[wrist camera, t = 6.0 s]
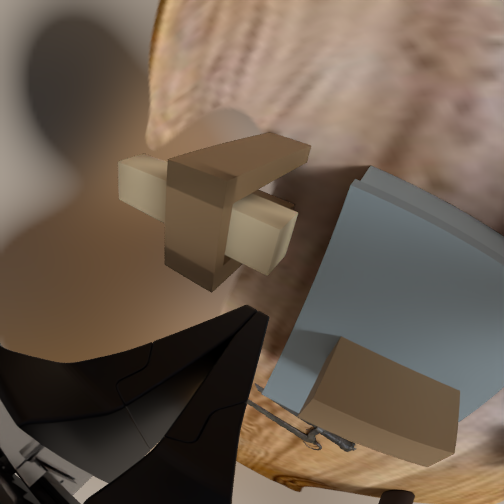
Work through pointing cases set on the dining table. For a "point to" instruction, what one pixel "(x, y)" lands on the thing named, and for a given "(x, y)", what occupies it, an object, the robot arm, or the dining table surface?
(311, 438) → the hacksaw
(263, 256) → the wooden key
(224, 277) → the toolbox
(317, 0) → the dining table surface
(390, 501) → the bottle
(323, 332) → the lid
